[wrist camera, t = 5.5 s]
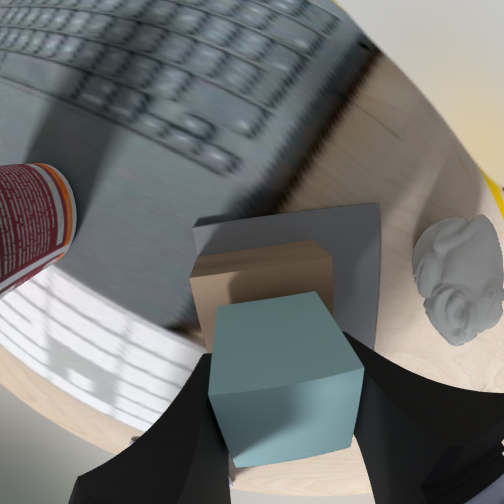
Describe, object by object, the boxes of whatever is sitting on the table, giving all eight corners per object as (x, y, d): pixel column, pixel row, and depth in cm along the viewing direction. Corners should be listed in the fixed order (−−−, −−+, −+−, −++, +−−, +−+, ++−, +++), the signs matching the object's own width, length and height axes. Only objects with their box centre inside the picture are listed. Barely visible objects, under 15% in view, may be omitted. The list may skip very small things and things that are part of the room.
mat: (361, 404, 19) (363, 407, 19) (240, 428, 19) (240, 432, 18) (375, 202, 14) (379, 203, 14) (193, 226, 14) (192, 228, 14)
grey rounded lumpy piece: (374, 300, 16) (436, 365, 9) (404, 190, 14) (492, 210, 8) (438, 305, 17) (497, 354, 10) (465, 213, 15) (540, 238, 8)
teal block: (317, 365, 12) (350, 446, 7) (233, 379, 12) (235, 467, 7) (315, 291, 11) (364, 367, 6) (216, 306, 11) (208, 395, 6)
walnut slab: (317, 335, 16) (332, 366, 13) (218, 351, 16) (216, 384, 13) (313, 239, 14) (332, 257, 11) (197, 256, 14) (189, 278, 11)
